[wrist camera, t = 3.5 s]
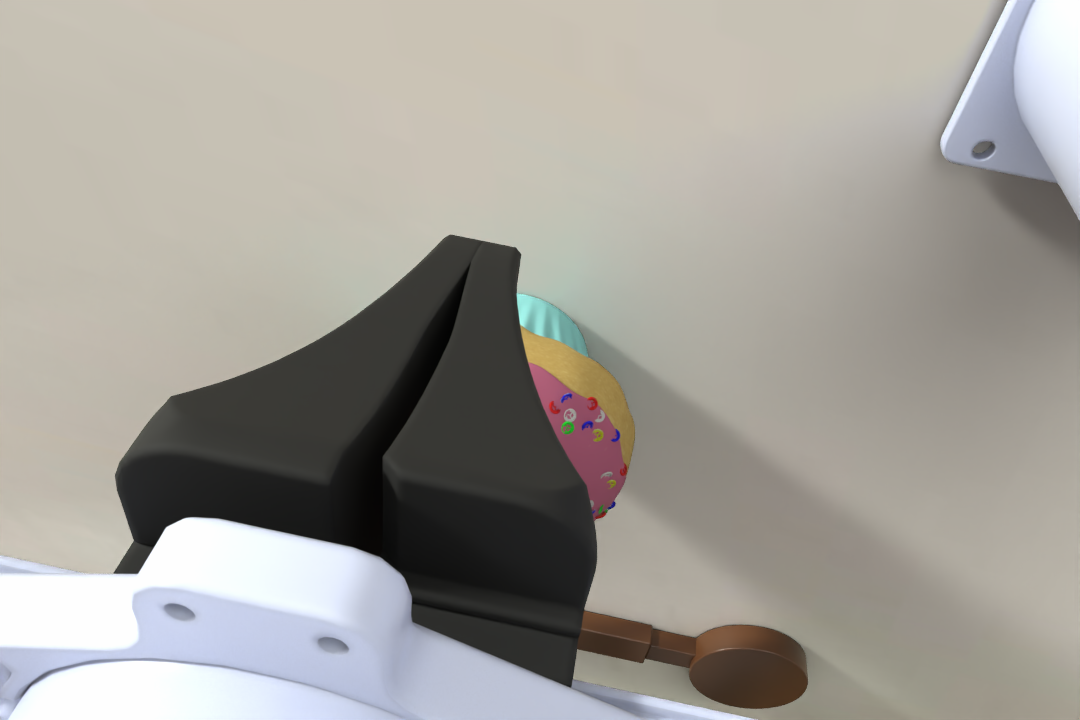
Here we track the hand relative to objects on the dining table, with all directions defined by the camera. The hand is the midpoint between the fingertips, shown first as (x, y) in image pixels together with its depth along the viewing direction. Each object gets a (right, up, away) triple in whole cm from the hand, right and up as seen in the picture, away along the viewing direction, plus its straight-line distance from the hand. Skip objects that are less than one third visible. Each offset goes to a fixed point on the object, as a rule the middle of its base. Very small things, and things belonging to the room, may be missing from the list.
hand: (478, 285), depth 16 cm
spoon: (+2, -13, +24) cm, 27 cm away
